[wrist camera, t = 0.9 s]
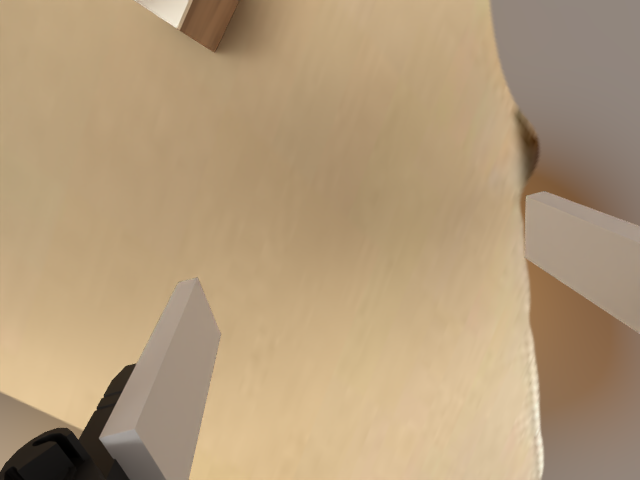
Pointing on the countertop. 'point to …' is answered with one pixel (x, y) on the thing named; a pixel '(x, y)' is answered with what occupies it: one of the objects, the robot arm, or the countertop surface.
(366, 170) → the countertop surface
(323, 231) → the countertop surface
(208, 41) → the block
